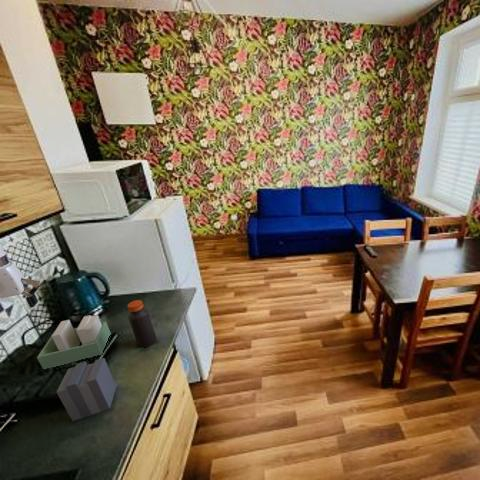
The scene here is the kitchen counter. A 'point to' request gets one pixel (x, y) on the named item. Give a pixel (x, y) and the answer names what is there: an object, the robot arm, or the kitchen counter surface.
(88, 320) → the white books
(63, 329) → the white book
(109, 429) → the kitchen counter surface
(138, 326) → the bottle
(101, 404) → the grey books
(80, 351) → the crate
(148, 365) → the kitchen counter surface
